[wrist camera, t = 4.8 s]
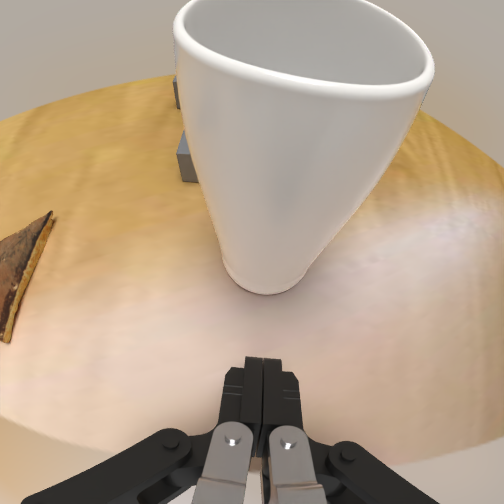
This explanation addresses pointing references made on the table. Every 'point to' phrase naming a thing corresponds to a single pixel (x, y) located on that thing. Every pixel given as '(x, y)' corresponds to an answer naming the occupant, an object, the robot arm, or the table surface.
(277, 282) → the white cup
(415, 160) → the table surface
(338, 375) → the table surface
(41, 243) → the shard
